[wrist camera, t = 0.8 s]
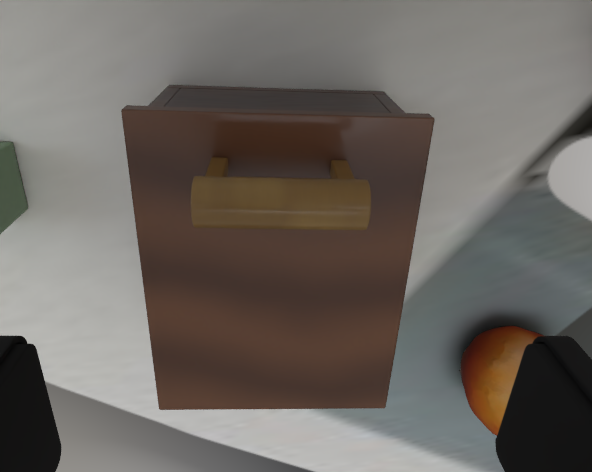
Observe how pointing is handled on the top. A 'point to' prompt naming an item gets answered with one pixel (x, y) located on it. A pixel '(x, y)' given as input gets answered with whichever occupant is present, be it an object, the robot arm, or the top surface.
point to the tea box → (10, 187)
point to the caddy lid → (274, 251)
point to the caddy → (276, 99)
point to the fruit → (493, 371)
